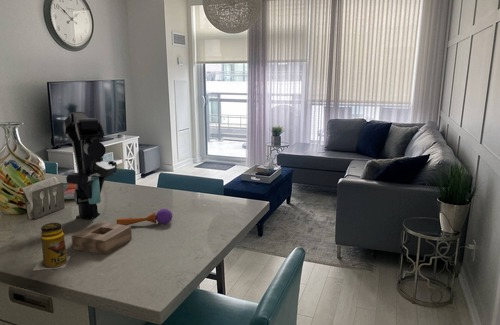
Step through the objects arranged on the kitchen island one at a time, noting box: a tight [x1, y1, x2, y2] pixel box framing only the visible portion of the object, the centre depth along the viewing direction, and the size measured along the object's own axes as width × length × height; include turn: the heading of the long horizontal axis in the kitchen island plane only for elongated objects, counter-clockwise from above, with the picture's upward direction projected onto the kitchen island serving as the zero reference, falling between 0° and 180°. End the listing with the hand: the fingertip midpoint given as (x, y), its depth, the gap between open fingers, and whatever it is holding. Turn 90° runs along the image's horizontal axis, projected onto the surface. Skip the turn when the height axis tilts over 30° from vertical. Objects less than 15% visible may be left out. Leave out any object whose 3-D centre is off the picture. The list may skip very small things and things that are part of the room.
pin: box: [89, 177, 102, 205], centre depth 136 cm, size 4×4×9 cm
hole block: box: [71, 221, 133, 255], centre depth 125 cm, size 13×13×4 cm
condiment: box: [32, 222, 71, 271], centre depth 110 cm, size 7×8×12 cm
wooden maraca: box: [116, 208, 173, 226], centre depth 141 cm, size 6×6×20 cm
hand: (94, 196), depth 136 cm, fingers closed on pin, 4 cm apart
